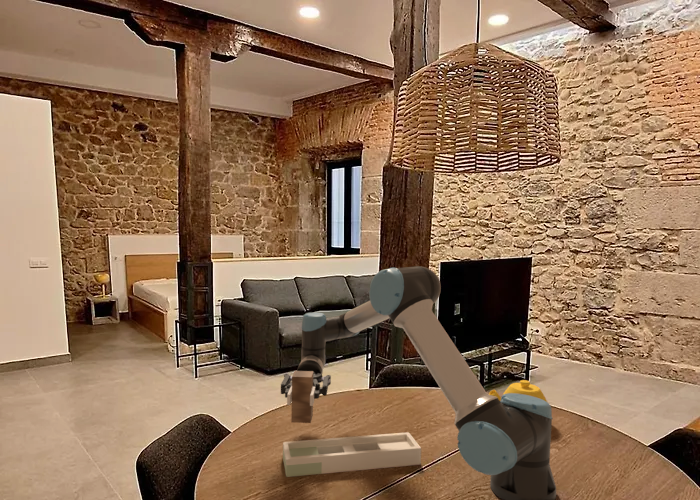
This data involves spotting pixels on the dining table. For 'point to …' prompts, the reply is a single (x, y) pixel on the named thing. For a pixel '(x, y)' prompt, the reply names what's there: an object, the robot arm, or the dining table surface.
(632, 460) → the dining table surface
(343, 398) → the dining table surface
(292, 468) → the tray
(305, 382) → the walnut block
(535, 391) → the teapot
